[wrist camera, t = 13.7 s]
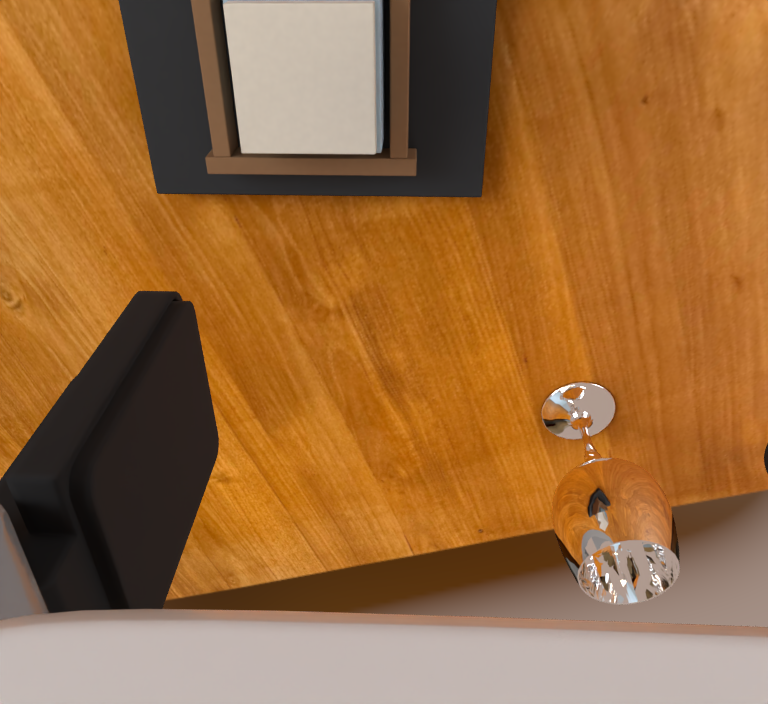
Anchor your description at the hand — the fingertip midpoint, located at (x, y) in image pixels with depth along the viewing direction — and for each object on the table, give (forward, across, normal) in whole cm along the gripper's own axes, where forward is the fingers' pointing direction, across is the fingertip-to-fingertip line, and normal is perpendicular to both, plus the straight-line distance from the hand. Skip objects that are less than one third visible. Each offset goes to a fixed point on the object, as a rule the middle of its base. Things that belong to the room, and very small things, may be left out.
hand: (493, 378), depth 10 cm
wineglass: (+24, -9, +20) cm, 33 cm away
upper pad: (+23, +6, 0) cm, 24 cm away
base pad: (+24, +6, 0) cm, 25 cm away
